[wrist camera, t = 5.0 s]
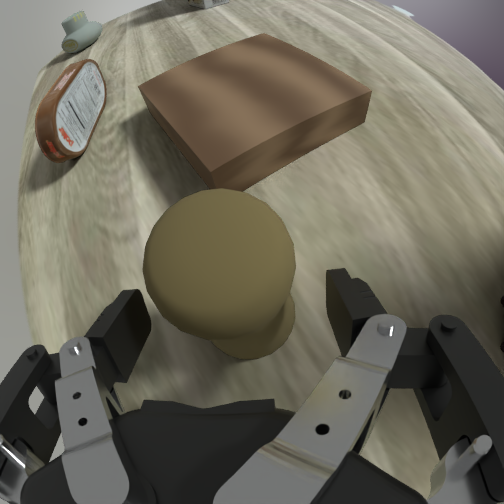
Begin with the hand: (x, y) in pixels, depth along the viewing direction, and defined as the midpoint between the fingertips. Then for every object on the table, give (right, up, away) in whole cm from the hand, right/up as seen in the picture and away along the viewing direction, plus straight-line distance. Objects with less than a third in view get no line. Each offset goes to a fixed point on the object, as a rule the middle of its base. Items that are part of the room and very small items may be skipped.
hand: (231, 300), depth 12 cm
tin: (-19, +17, +17) cm, 31 cm away
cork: (+1, -2, +7) cm, 7 cm away
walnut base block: (+1, +16, +14) cm, 21 cm away
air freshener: (-39, +52, +34) cm, 73 cm away
